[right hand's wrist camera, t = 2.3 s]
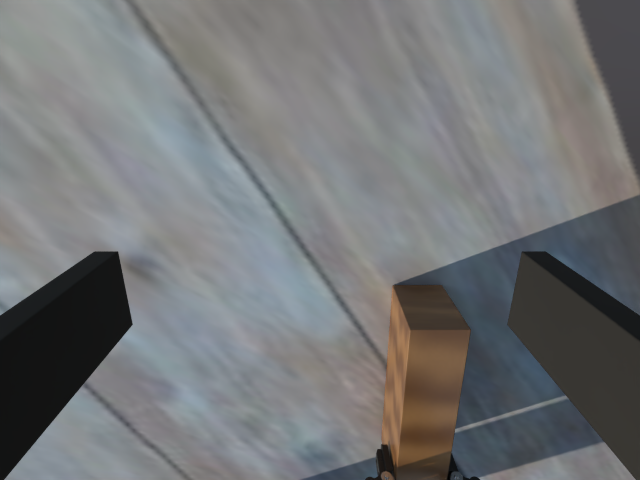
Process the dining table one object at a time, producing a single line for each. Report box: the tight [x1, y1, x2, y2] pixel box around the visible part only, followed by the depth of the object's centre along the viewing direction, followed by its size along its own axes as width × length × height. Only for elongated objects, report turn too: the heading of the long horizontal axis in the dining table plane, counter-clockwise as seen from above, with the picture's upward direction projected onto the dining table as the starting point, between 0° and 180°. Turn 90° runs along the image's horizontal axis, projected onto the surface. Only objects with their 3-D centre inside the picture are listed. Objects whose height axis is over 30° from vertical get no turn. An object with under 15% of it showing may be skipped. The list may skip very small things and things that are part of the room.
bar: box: [382, 285, 471, 480], centre depth 42 cm, size 23×6×9 cm, turn 0°
